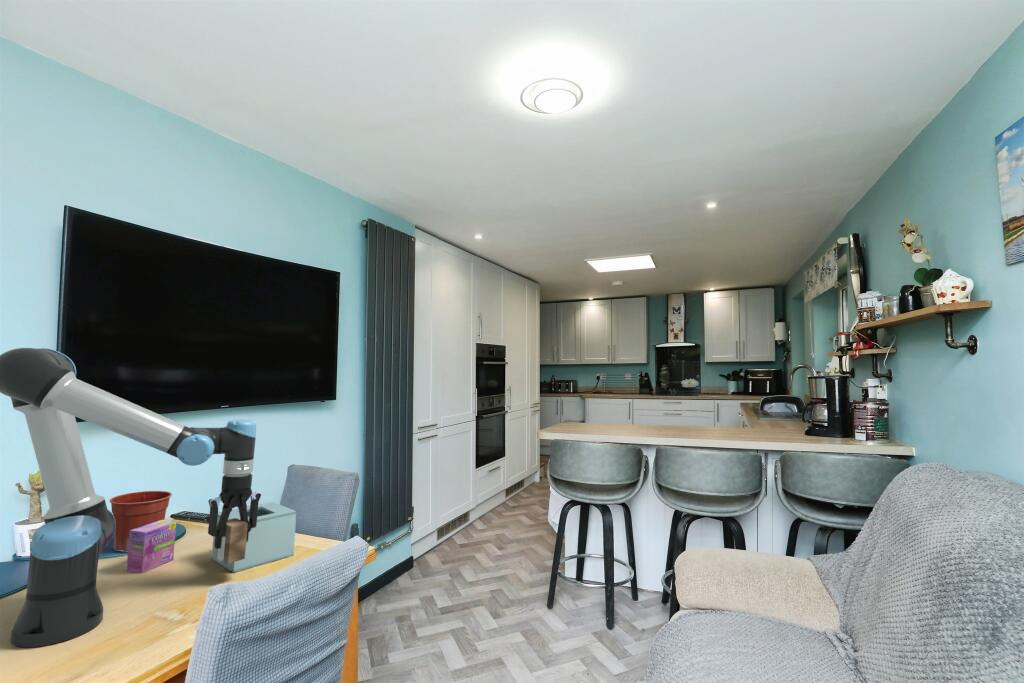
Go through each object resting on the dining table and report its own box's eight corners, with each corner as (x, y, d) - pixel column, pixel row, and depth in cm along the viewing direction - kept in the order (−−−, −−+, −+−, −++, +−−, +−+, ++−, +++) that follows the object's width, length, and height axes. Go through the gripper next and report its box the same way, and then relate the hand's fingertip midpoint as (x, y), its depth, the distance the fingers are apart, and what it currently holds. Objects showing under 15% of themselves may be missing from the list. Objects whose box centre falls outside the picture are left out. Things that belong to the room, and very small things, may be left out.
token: (228, 563, 132) (231, 526, 133) (216, 557, 136) (219, 521, 137) (244, 558, 136) (247, 523, 137) (232, 552, 140) (235, 517, 141)
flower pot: (170, 534, 168) (174, 488, 169) (166, 550, 154) (170, 499, 155) (110, 542, 160) (114, 493, 161) (100, 559, 146) (104, 505, 147)
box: (141, 573, 137) (145, 531, 138) (125, 571, 138) (129, 529, 139) (174, 560, 147) (177, 521, 148) (158, 558, 148) (161, 519, 149)
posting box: (233, 572, 139) (236, 524, 140) (211, 558, 149) (215, 512, 150) (293, 555, 154) (296, 511, 154) (270, 543, 163) (272, 501, 164)
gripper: (208, 480, 129) (200, 569, 127) (274, 472, 143) (268, 552, 141) (198, 476, 133) (190, 561, 132) (263, 468, 147) (256, 545, 145)
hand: (230, 556), depth 136 cm, fingers closed on token, 5 cm apart
